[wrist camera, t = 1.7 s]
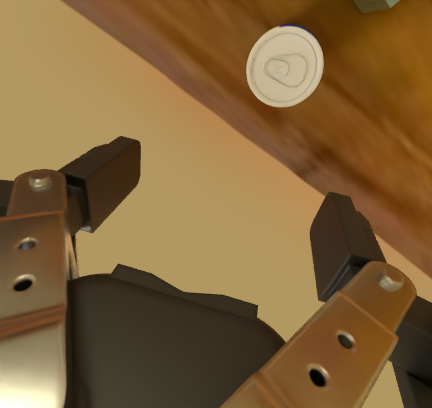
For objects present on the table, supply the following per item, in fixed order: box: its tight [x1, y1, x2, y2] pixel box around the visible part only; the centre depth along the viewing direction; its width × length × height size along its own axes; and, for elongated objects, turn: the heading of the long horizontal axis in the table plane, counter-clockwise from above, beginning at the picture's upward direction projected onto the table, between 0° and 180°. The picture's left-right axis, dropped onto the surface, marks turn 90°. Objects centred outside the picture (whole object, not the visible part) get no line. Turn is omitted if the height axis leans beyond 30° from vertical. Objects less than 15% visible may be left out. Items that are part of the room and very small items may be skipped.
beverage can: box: [246, 24, 324, 107], centre depth 25 cm, size 6×6×15 cm
